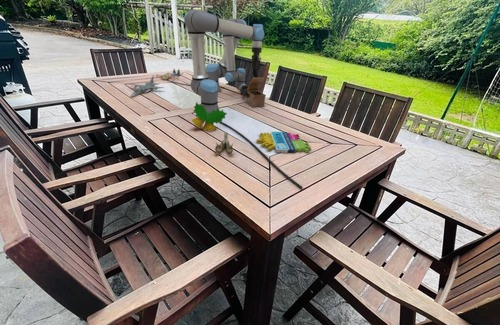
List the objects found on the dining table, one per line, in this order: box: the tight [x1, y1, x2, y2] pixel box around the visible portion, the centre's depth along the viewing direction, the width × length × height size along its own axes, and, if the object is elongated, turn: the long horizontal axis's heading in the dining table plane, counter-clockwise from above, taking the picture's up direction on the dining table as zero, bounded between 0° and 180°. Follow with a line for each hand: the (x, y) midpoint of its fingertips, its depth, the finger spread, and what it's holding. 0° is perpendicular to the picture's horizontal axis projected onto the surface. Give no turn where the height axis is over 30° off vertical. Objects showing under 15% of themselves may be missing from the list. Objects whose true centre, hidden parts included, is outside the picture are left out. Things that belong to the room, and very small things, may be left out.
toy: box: [155, 68, 181, 81], centre depth 282 cm, size 28×7×30 cm
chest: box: [246, 90, 266, 108], centre depth 214 cm, size 14×10×10 cm
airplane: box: [129, 74, 165, 98], centre depth 227 cm, size 38×31×10 cm
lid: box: [247, 71, 265, 91], centre depth 211 cm, size 15×10×9 cm
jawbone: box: [214, 131, 234, 156], centre depth 136 cm, size 9×15×10 cm
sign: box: [256, 131, 312, 154], centre depth 152 cm, size 26×2×30 cm
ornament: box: [191, 102, 228, 132], centre depth 162 cm, size 21×8×15 cm, turn 105°
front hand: (254, 78), depth 210 cm, fingers closed on lid
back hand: (254, 95), depth 215 cm, fingers closed on chest, 10 cm apart
